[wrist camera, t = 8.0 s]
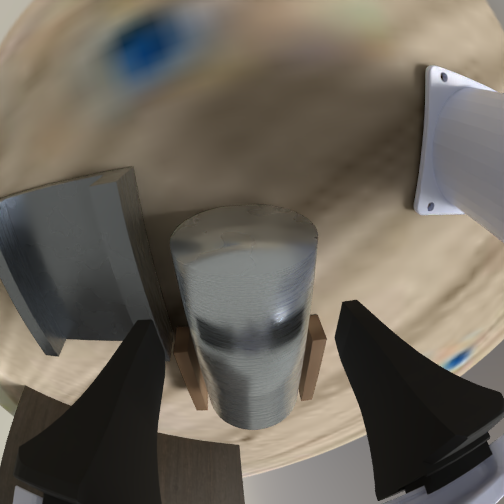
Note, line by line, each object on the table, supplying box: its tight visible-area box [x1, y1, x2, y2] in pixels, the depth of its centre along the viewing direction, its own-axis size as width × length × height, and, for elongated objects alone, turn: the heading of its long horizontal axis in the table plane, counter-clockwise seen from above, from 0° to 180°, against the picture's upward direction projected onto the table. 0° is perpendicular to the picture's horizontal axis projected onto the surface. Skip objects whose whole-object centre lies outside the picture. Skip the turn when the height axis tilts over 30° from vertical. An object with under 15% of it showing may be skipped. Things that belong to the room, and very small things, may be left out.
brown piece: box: [173, 315, 327, 410], centre depth 17 cm, size 8×7×2 cm
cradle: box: [0, 167, 174, 361], centre depth 12 cm, size 9×10×2 cm
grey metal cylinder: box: [170, 204, 318, 430], centre depth 13 cm, size 11×5×5 cm, turn 2°
